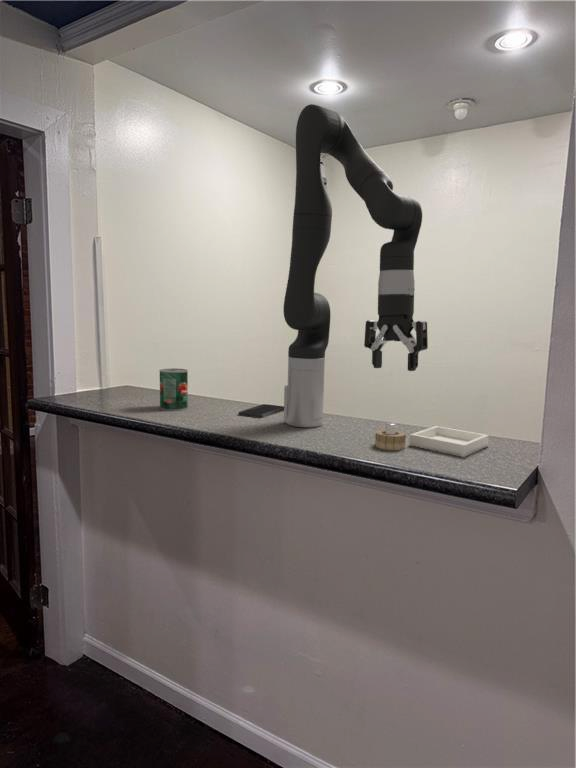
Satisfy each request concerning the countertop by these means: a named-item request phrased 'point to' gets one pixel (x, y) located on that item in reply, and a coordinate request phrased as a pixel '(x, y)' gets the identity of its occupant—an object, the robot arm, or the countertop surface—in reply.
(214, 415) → the countertop surface
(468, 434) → the white tray
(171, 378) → the canned tomato
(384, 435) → the oak ring
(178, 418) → the countertop surface
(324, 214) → the robot arm
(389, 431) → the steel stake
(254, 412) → the phone
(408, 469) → the countertop surface
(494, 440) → the countertop surface
